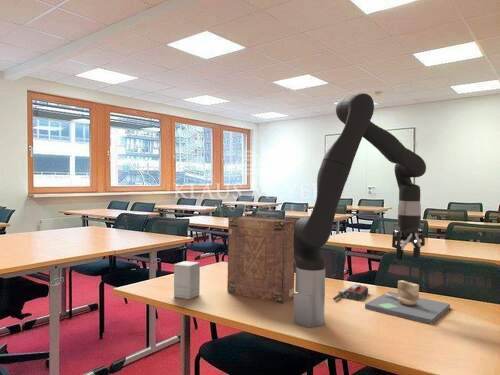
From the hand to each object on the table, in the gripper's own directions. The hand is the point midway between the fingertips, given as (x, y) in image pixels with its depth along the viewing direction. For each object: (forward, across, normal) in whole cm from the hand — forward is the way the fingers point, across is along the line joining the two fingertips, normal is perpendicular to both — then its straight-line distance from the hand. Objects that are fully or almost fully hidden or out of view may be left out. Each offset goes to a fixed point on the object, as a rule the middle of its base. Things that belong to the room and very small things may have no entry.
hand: (408, 259), depth 133 cm
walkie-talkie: (+18, -9, +19) cm, 28 cm away
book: (+18, -40, +37) cm, 57 cm away
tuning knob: (+16, 0, +3) cm, 16 cm away
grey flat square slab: (+18, 0, 0) cm, 18 cm away
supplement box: (+18, -66, +47) cm, 83 cm away
